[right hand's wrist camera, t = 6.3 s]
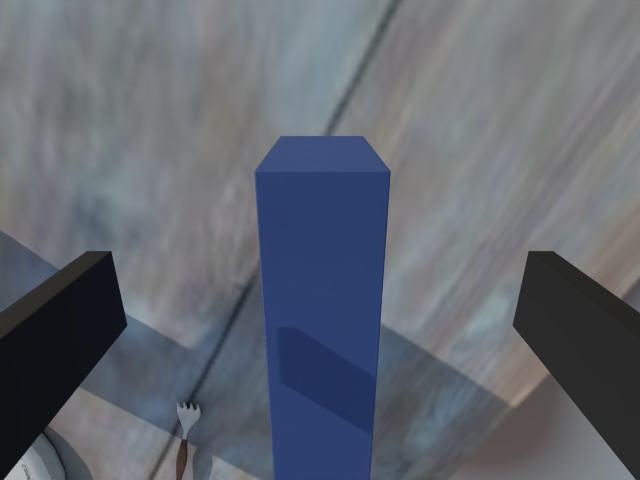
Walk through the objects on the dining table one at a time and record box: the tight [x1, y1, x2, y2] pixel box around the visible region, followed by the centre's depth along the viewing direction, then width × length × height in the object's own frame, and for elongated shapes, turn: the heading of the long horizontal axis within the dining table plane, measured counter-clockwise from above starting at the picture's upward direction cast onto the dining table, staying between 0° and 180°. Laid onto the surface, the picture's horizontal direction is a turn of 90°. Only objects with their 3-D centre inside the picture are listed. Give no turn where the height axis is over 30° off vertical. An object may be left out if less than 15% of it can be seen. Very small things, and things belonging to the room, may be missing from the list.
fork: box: [176, 400, 201, 480], centre depth 44 cm, size 3×16×2 cm, turn 167°
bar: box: [254, 136, 390, 480], centre depth 23 cm, size 30×5×9 cm, turn 0°
